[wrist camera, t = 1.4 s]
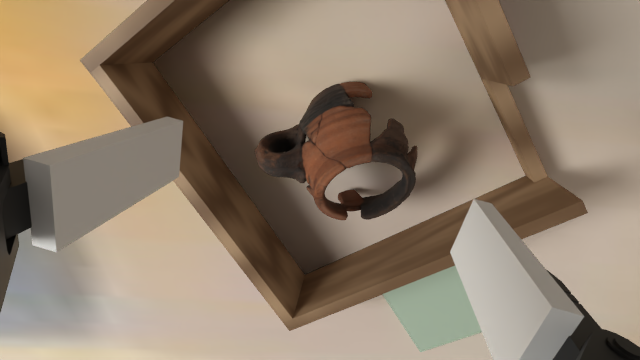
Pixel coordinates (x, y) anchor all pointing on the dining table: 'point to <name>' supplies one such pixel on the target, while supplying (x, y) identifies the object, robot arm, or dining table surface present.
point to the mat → (434, 309)
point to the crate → (245, 219)
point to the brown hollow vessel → (339, 152)
